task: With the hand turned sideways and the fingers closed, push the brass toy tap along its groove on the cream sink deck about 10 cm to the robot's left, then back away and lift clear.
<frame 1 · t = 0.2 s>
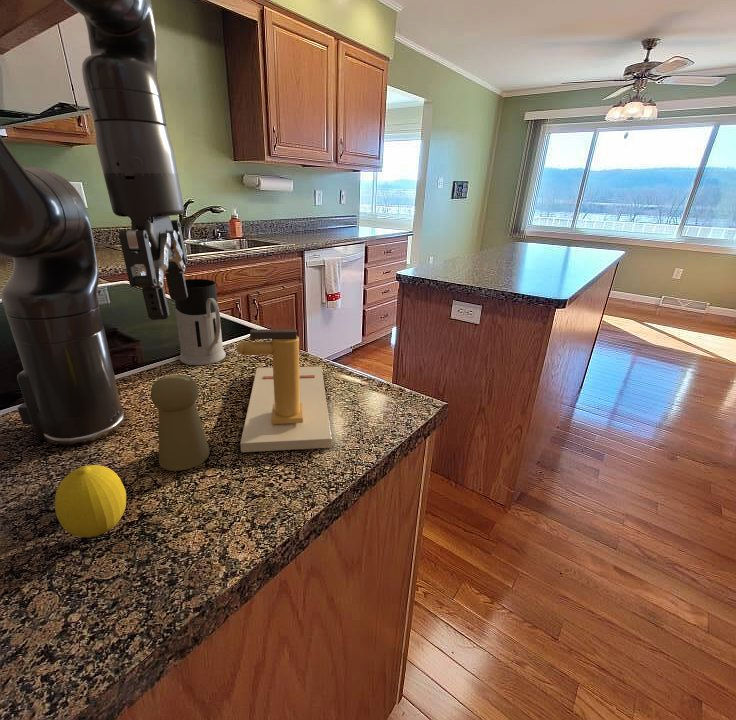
hand: (170, 308, 52), 17 cm above the countertop, tool pointing down, fingers open, 8 cm apart
tap: (278, 375, 55), point 8 cm above the countertop, slide at 0.0 cm
lemon: (101, 533, 40), on the countertop
cork: (185, 456, 51), on the countertop
sink deck: (288, 405, 64), on the countertop
glass holder: (208, 361, 79), on the countertop
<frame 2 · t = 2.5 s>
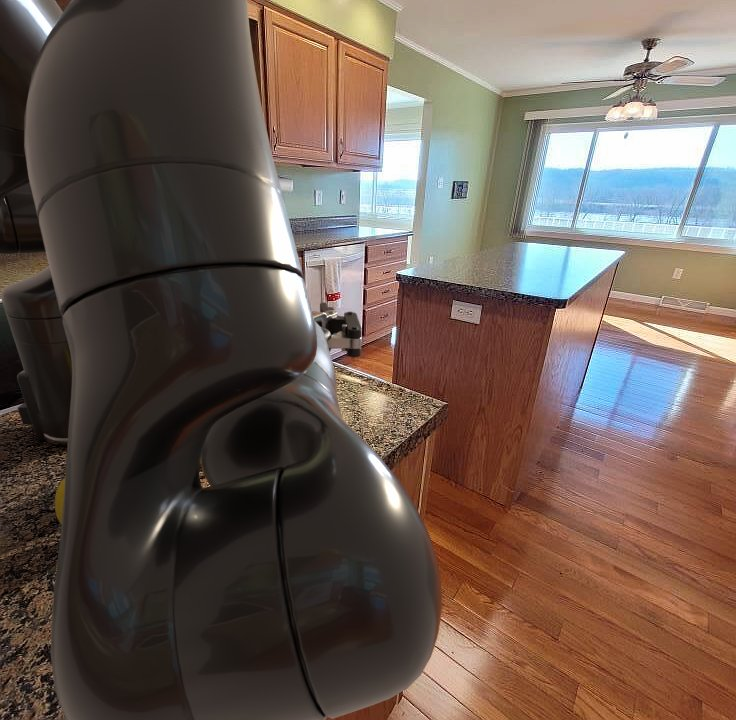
hand: (282, 312, 42), 20 cm above the countertop, tool horizontal, fingers open, 8 cm apart
nothing on the countertop moved.
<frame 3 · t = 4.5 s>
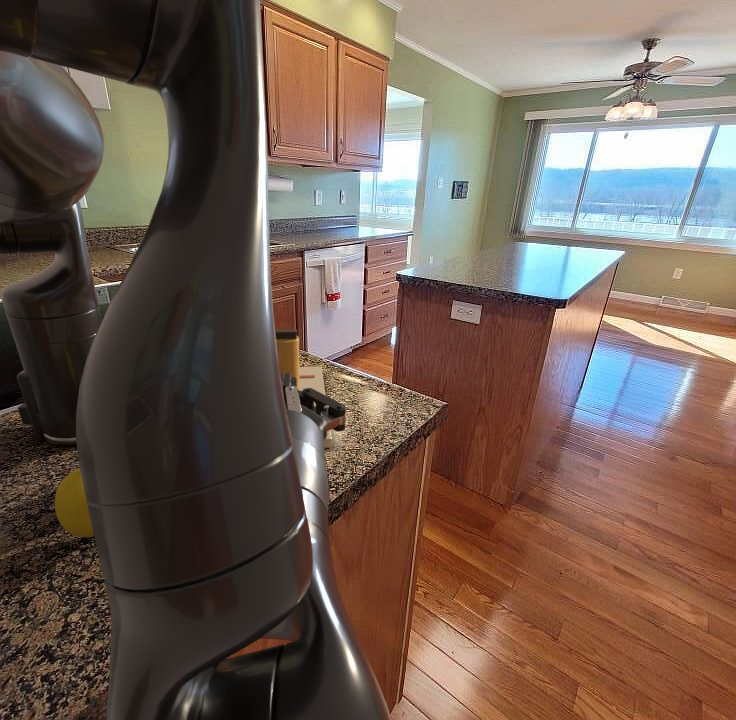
hand: (284, 380, 46), 12 cm above the countertop, tool horizontal, fingers closed
nothing on the countertop moved.
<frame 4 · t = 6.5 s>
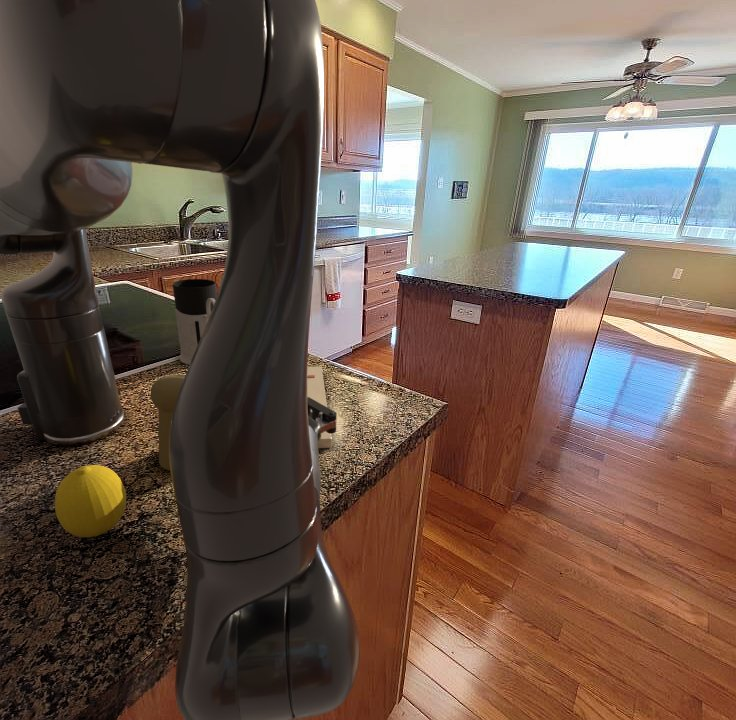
hand: (286, 389, 55), 7 cm above the countertop, tool horizontal, fingers closed
tap: (278, 374, 55), point 8 cm above the countertop, slide at 0.1 cm, touching gripper
everything else where it was.
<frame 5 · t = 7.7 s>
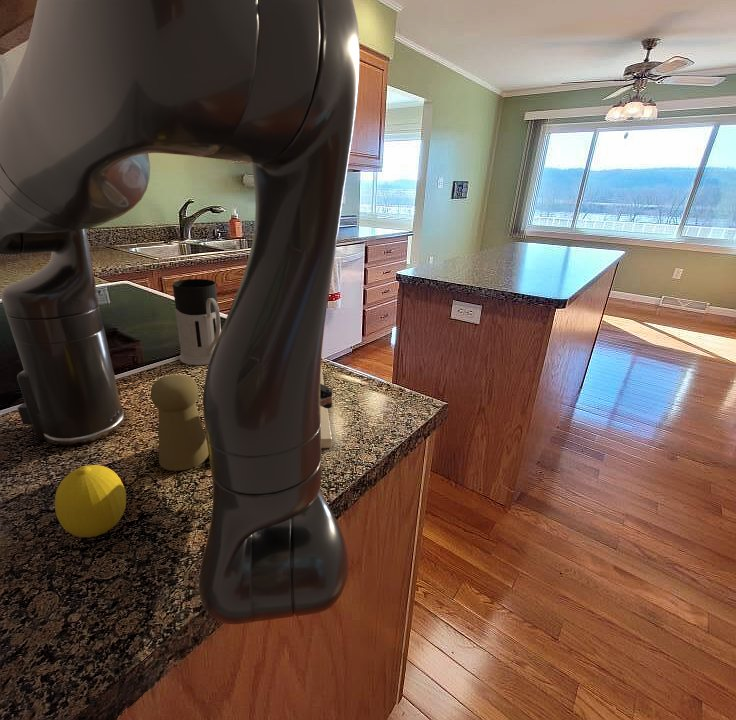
hand: (287, 371, 60), 7 cm above the countertop, tool horizontal, fingers closed
tap: (279, 358, 61), point 8 cm above the countertop, slide at 6.0 cm, touching gripper
everything else where it was.
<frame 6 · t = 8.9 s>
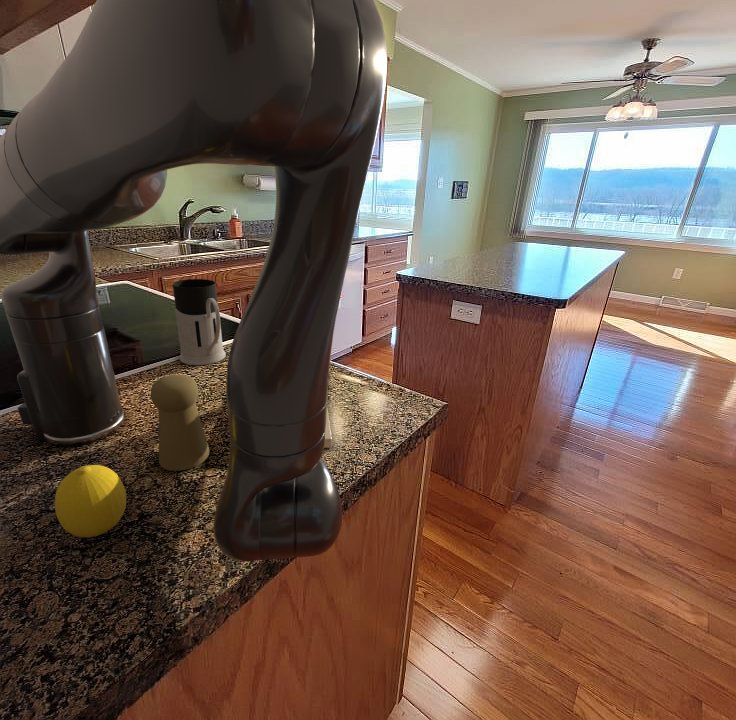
hand: (287, 358, 64), 7 cm above the countertop, tool horizontal, fingers closed
tap: (280, 346, 65), point 8 cm above the countertop, slide at 11.0 cm, touching gripper
everything else where it was.
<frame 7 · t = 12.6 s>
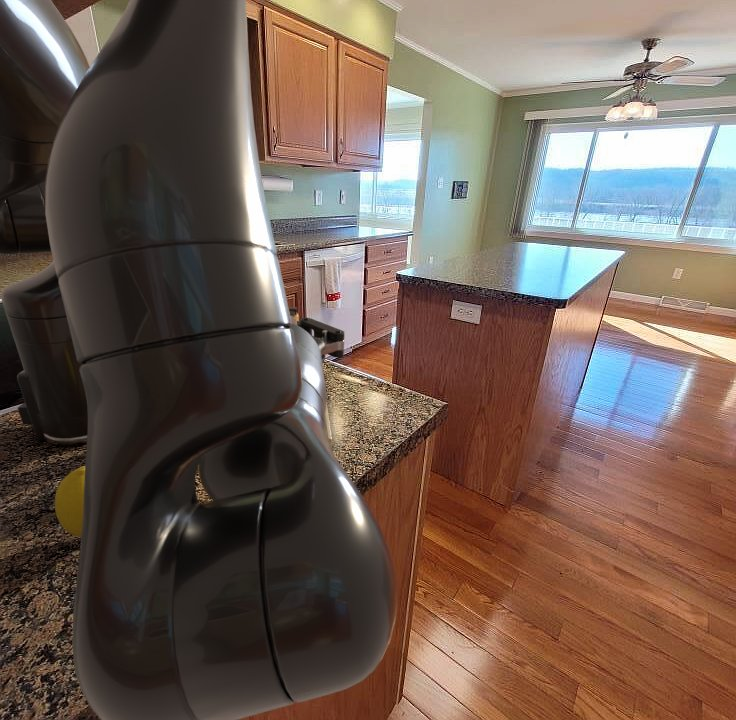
hand: (281, 315, 45), 19 cm above the countertop, tool horizontal, fingers closed
tap: (280, 346, 65), point 8 cm above the countertop, slide at 11.0 cm
everything else where it was.
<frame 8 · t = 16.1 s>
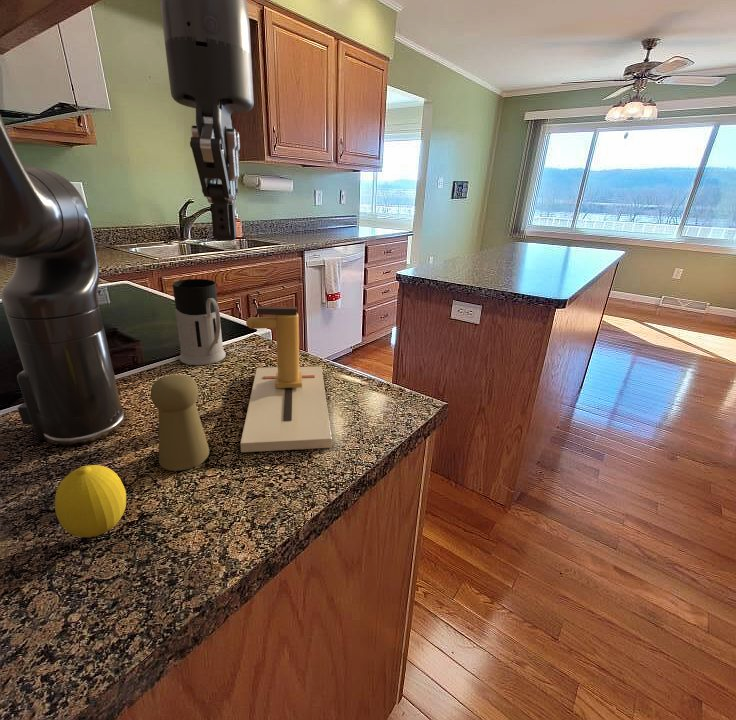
hand: (225, 239, 44), 27 cm above the countertop, tool pointing down, fingers closed
nothing on the countertop moved.
at the end: tap slide at 11.0 cm; cork moved 0.2 cm from its start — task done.
